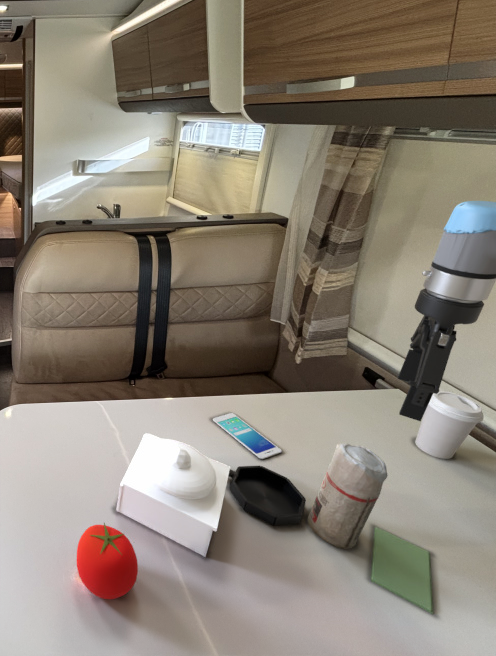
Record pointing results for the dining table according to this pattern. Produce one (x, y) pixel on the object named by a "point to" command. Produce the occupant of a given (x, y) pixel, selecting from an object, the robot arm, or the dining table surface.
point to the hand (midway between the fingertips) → (408, 397)
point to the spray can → (347, 495)
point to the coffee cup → (447, 423)
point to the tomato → (106, 562)
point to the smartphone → (247, 436)
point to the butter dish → (174, 491)
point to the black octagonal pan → (267, 495)
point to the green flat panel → (402, 569)
